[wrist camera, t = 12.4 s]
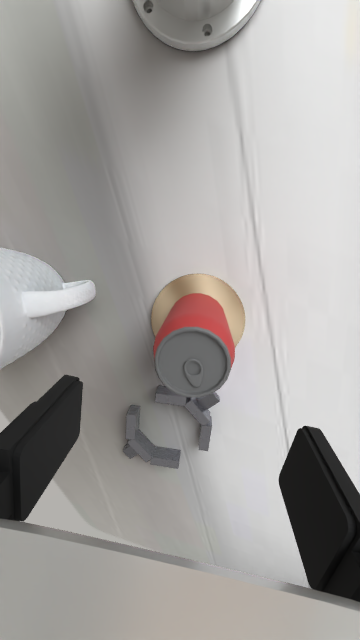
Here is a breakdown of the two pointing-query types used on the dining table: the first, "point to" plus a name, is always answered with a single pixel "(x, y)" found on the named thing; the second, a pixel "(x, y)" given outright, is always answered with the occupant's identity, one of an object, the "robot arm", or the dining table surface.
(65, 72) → the dining table surface
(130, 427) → the collar
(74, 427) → the robot arm
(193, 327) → the beer can
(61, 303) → the mug
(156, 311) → the disc
